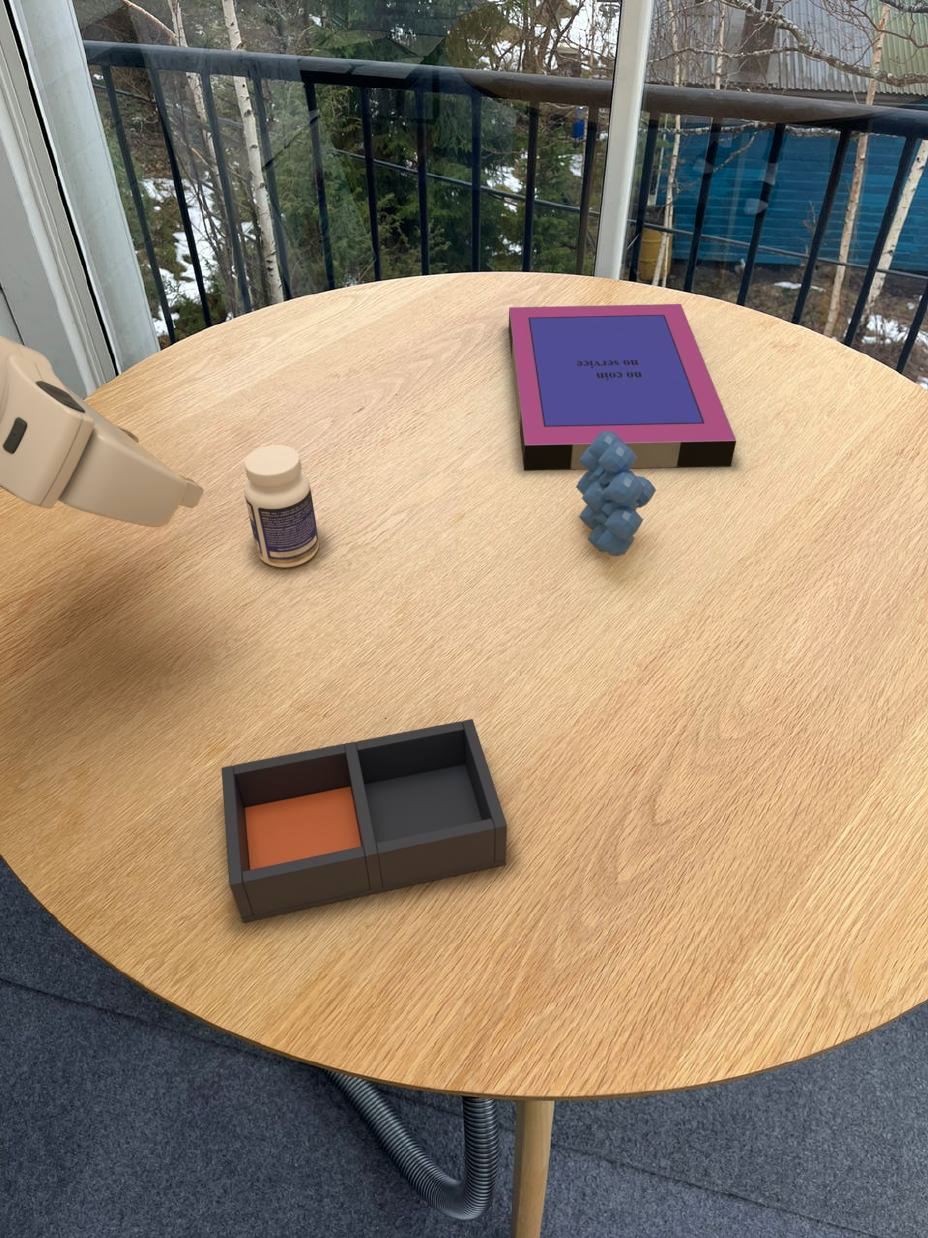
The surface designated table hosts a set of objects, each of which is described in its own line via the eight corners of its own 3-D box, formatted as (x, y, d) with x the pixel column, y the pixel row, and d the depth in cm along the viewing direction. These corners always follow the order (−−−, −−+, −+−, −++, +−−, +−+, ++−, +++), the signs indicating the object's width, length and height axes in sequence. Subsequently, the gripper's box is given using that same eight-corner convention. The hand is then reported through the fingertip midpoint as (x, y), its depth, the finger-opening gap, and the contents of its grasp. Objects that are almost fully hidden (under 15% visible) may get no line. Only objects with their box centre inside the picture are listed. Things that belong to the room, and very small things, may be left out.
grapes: (668, 583, 83) (690, 470, 74) (594, 593, 82) (607, 480, 73) (629, 504, 91) (644, 395, 82) (561, 512, 90) (569, 402, 82)
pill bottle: (332, 542, 87) (319, 451, 80) (294, 577, 84) (277, 486, 77) (283, 523, 89) (266, 433, 82) (244, 557, 86) (223, 466, 79)
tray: (242, 923, 60) (229, 885, 57) (233, 806, 66) (221, 767, 63) (505, 864, 63) (507, 825, 59) (473, 758, 69) (472, 718, 66)
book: (680, 303, 115) (736, 440, 93) (677, 326, 117) (730, 465, 95) (509, 307, 115) (524, 445, 93) (508, 330, 117) (523, 470, 95)
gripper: (-89, 390, 67) (80, 450, 78) (41, 516, 56) (215, 565, 67) (-52, 310, 66) (113, 383, 77) (87, 422, 55) (255, 488, 66)
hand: (162, 468), depth 72 cm, fingers open, 8 cm apart
